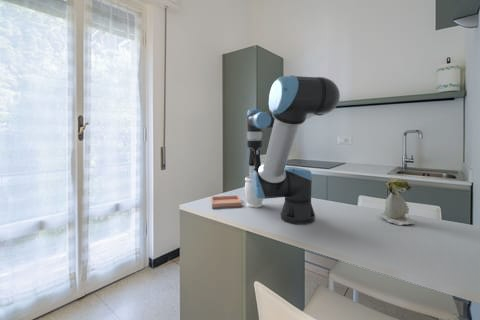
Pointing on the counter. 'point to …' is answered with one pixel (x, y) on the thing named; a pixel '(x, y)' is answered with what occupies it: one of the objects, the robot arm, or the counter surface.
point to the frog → (397, 203)
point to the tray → (226, 201)
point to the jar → (251, 194)
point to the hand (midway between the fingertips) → (254, 180)
